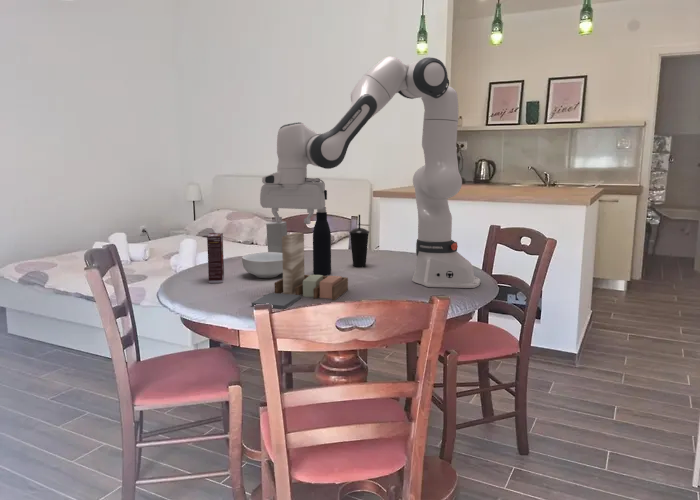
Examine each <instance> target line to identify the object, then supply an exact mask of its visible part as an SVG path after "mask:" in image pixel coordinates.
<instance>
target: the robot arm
mask: <svg viewBox="0 0 700 500" xmlns="http://www.w3.org/2000/svg"><path fill="white" fill-rule="evenodd" d="M448 77H449V76H448V71H447V68H446V66H445V64H444V63H443V62H442V60H440V59H438V58H435V57H430V56H429V57H423V58H421V59H417V60H414V61H412V62H411V63H408V64H404V63H403V62H402V61H401V60H400V59H399V58H398V57H395V56H393V55H388V56H384V57H383V58H381V59H380V60H379V61H377V62H376V63H375V64H374V65H372V67H370V68H369V70H367V71H366V72H365V73H364V74H363V75H362V77H361V78H360V79H359V80H358V81H357V83H356V84H355V86H354V87H353V88H352V91H351V92H350V103H351V105H350V107H349V108H348V110H347V111H346V113H344V115H343V116H342V117H341V118H340V119H339V121H338V122H337V123H336V124H335V125H334V127H333V128H331V129H330V130H328V131H326V132H324V133H319V132H317V131H315V130H314V129H311V128H309V127H308V126H306V125H305V124H304V123H303V122H293V123H292V122H291V123H288V124H283V125H282V126H280V127H279V129H278V131H277V136H276V138H277V139H276V155H277V159H278V160H277V161H278V162H277V166H276V167H277V171H276V172H273V173H270V174H268V175H264V176H262V178H261V183H262V186H261V187H260V194H259V201H260V202H259V203H260V206H261V207H262V209H271V213H272V216H273V217H274V218H275V221H274V222H276V223H282V222H283V216H280V214H279V210H280V209H291V210H292V209H294V210H307V213H308V215H307V216H306V217H305V218H303V225H311V223H312V222H311V218H312V217H313V215H314V213H315V210H317V209H323V208H324V207H326V200H325V195H324V191H325V190H326V189H325V188H326V186H325V185H326V184H325V181H323V180H322V179H321V178H320V177H319V178H318V177H314V178H313V177H307V176H308V175H307V174H308V171H307V170H308V169H307V168H308V167H307V166H308V165H312V166H314V167H318V168H321V169H326V170H329V169H334V168H337V167H338V166H340V164H341V163H342V162H343V161H344V159H345V157H346V154H347V151H348V148H349V145H350V144H351V142H352V141H353V139H354V138H355V137H356V136H357V135H358V133H360V131H361V130H362V129H363V128H364V127H365V125H366V124H367V123H368V121H370V120H371V119H373V117H374V116H375V115H377V114H378V113H380V111H381V110H382V109H384V107H386V105H387V104H389V102H390V101H391V100H392V99H393V97H394V96H395V95H396V94H399V95H400V96H402V97H403V98H406V99H409V100H410V99H411V100H413V99H421V102H422V104H423V107H424V112H423V124H422V137H421V138H422V139H421V147H422V150H423V155H424V165H422V166H421V167H420V168H418V169H417V170H416V171H415V172H414V173H413V177H412V183H413V184H412V185H413V188H414V194H415V201H416V209H417V220H418V221H417V225H418V226H417V239H416V242H415V254H416V261H415V262H416V263H415V268H414V272H413V273H414V274H413V276H412V279H411V280H412V282H413V283H416V284H419V285H422V286H424V287H427V288H428V287H429V288H453V289H454V288H458V289H459V288H462V289H463V288H465V289H474V288H477V287H480V285H481V279H480V278H479V277H478V276H475V272H474V267H473V264H472V263H471V261H469V260H468V259H466V257H465V256H463V255H461V253H459V252H458V241H454V240H453V239H452V231H453V230H452V225H453V223H452V222H453V216H452V213H451V211H450V207H449V206H450V205H449V201H448V199H450V198H452V197H455V196H456V195H457V194H458V193H459V192H460V191H461V189H462V185H463V179H462V176H461V174H460V171H459V161H458V152H457V140H458V128H459V127H458V126H459V125H458V124H459V99H458V93H457V91H456V90H455V88H454V87H452V86H449V85H450V80H449V78H448Z"/></svg>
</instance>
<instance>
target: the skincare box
mask: <svg viewBox="0 0 700 500" xmlns="http://www.w3.org/2000/svg"><path fill="white" fill-rule="evenodd" d="M265 225H266V238H267V240H266V241H267V252H277V253H282V237H283V236H286V235H288V230H287V229H288V227H287V225H288V224H287V221H282V223H276V222H275V221H272V222H268V223H266V224H265Z"/></svg>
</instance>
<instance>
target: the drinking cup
mask: <svg viewBox="0 0 700 500" xmlns="http://www.w3.org/2000/svg"><path fill="white" fill-rule="evenodd" d="M348 233H349V234H350V236H349V237H350V247H351V257H352V266H353V267H354V268H366V266H367V256H368V246H369V245H368V243H369V234H370V230H367V229H366V228H363V227H361V214H358V227H356V228H353V229H351V230H349V232H348Z"/></svg>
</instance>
